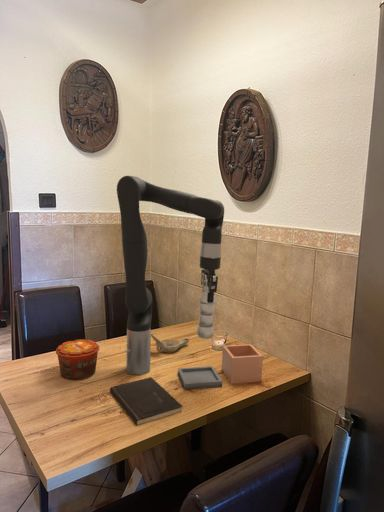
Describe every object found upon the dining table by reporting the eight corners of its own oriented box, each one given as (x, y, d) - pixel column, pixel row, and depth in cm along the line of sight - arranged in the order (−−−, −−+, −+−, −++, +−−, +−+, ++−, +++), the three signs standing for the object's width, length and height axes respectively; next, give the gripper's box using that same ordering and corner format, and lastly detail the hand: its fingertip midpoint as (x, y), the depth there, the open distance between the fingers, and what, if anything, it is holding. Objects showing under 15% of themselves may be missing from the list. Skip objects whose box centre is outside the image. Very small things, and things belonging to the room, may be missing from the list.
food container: (47, 376, 141) (46, 348, 140) (78, 360, 155) (77, 336, 154) (78, 386, 134) (78, 358, 132) (108, 369, 148) (108, 343, 146)
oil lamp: (145, 352, 166) (146, 331, 164) (183, 342, 180) (183, 322, 178) (157, 359, 159) (157, 336, 158) (194, 347, 173) (195, 327, 172)
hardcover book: (151, 382, 139) (151, 376, 139) (182, 412, 120) (182, 405, 120) (109, 393, 131) (109, 387, 131) (136, 427, 112) (136, 420, 111)
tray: (184, 389, 134) (184, 384, 134) (178, 373, 146) (178, 368, 146) (222, 386, 137) (222, 381, 137) (212, 370, 150) (212, 365, 149)
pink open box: (231, 383, 139) (232, 358, 138) (221, 369, 151) (222, 345, 149) (261, 381, 142) (262, 356, 141) (249, 367, 154) (251, 344, 152)
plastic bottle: (214, 335, 143) (217, 284, 141) (213, 341, 137) (217, 288, 134) (197, 333, 144) (200, 283, 141) (195, 340, 137) (199, 286, 135)
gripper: (195, 252, 142) (193, 295, 144) (205, 258, 128) (202, 305, 130) (214, 252, 144) (212, 295, 146) (226, 258, 130) (223, 305, 132)
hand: (207, 299), depth 138 cm, fingers closed on plastic bottle, 6 cm apart
